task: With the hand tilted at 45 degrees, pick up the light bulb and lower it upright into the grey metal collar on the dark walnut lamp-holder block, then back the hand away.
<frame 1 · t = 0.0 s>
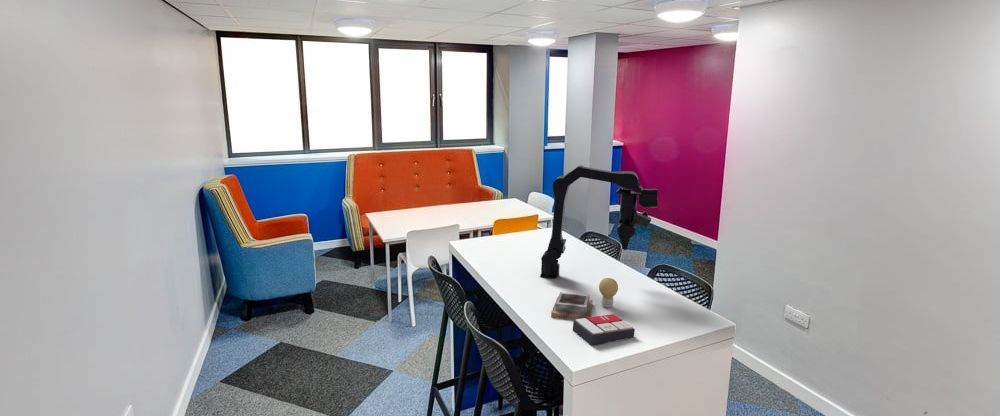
hand: (625, 246, 194), 15 cm above the table, tool pointing down, fingers open, 9 cm apart
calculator: (602, 335, 156), on the table
light bulb: (607, 306, 176), on the table
lamp holder block: (572, 310, 172), on the table
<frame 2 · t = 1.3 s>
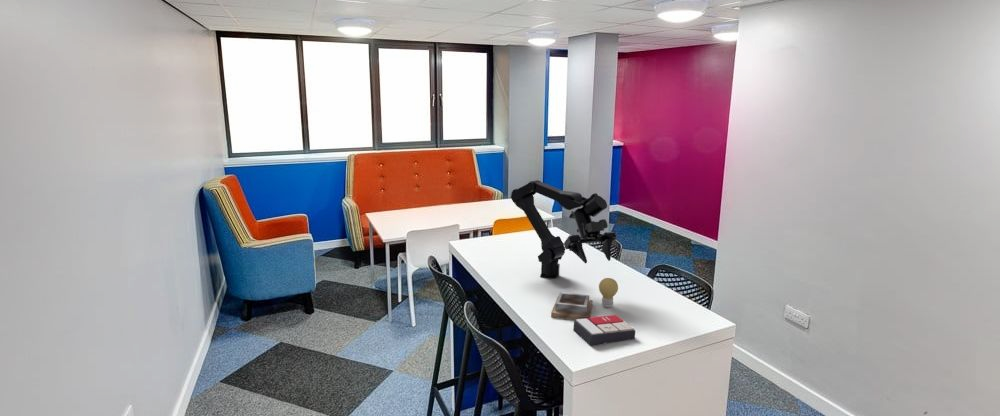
hand: (598, 261, 180), 13 cm above the table, tool tilted 45°, fingers open, 9 cm apart
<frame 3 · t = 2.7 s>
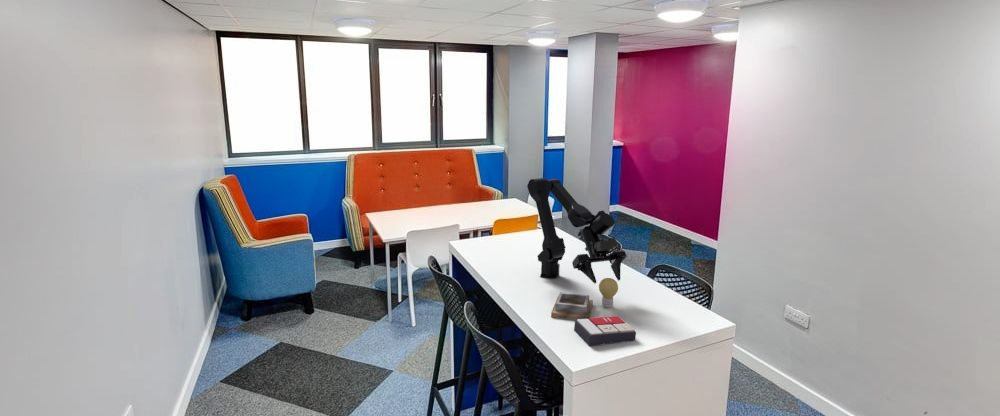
hand: (607, 281, 175), 9 cm above the table, tool tilted 45°, fingers open, 9 cm apart
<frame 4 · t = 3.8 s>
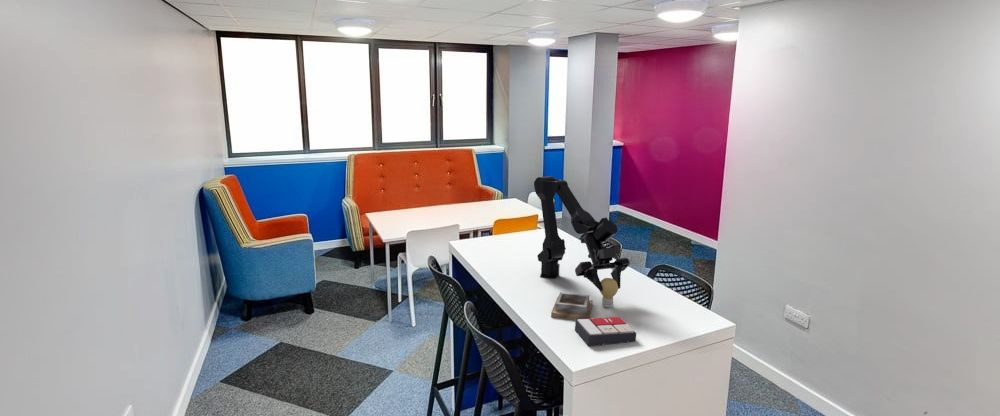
hand: (610, 289, 173), 7 cm above the table, tool tilted 45°, fingers closed on light bulb, 6 cm apart
light bulb: (607, 306, 176), on the table, touching gripper
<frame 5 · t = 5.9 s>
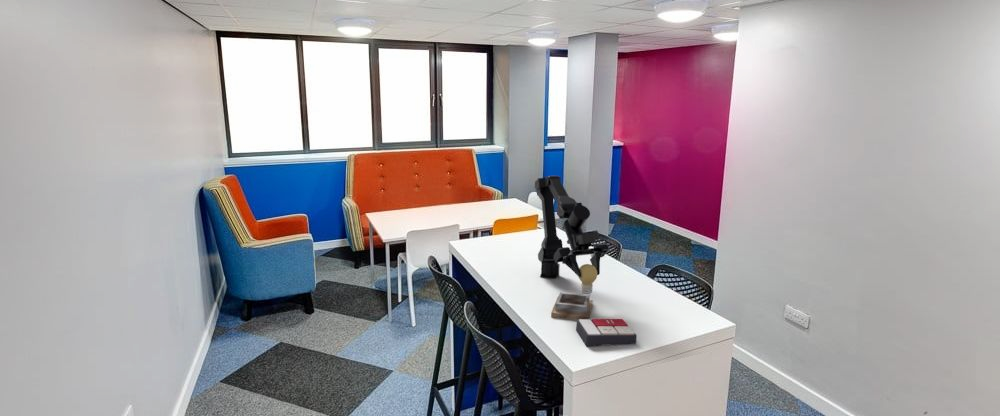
hand: (589, 275, 170), 12 cm above the table, tool tilted 45°, fingers closed on light bulb, 6 cm apart
light bulb: (586, 293, 173), point 5 cm above the table, touching gripper
when the fingers open (9 cm above the table, at t = 7.9 s): light bulb stays where it is, resting on lamp holder block.
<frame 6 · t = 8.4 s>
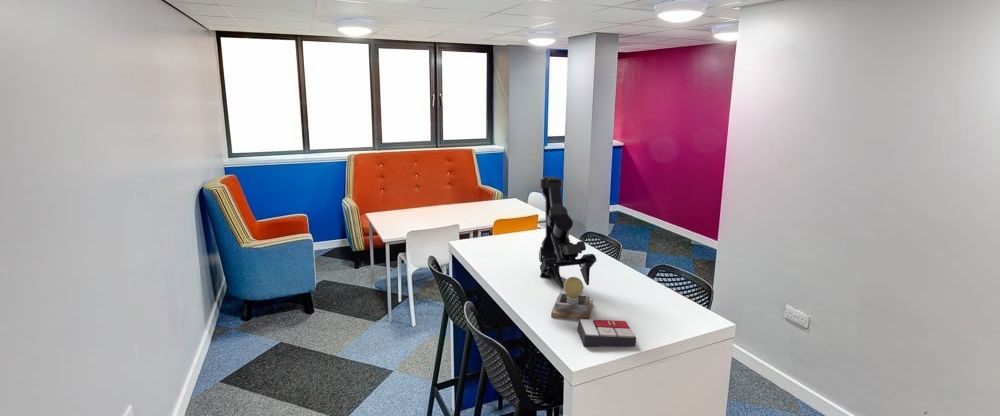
hand: (575, 286, 169), 9 cm above the table, tool tilted 45°, fingers open, 9 cm apart
light bulb: (572, 306, 172), point 1 cm above the table, touching lamp holder block
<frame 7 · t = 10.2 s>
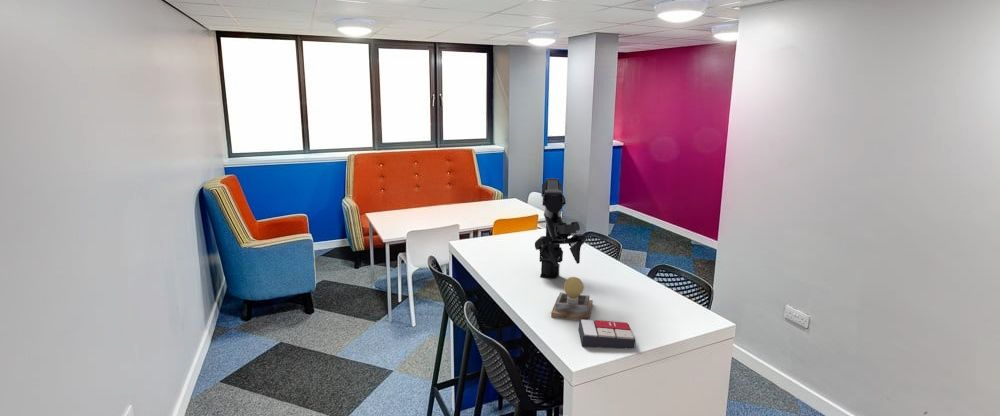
hand: (567, 264, 178), 13 cm above the table, tool tilted 40°, fingers open, 9 cm apart
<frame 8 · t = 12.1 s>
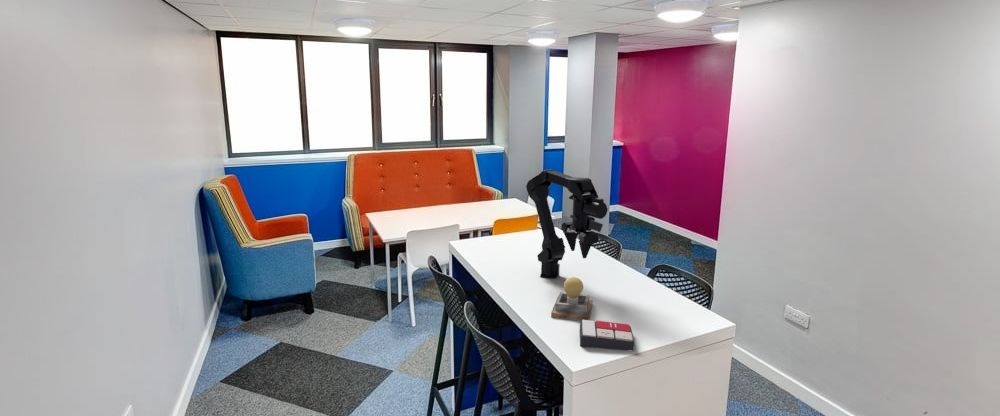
hand: (578, 254, 189), 13 cm above the table, tool pointing down, fingers open, 9 cm apart
at the end: light bulb 0.2 cm off-centre on the lamp holder block, point 1.3 cm above the lamp holder block's base; light bulb tilted 0°; the gripper is holding nothing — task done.
